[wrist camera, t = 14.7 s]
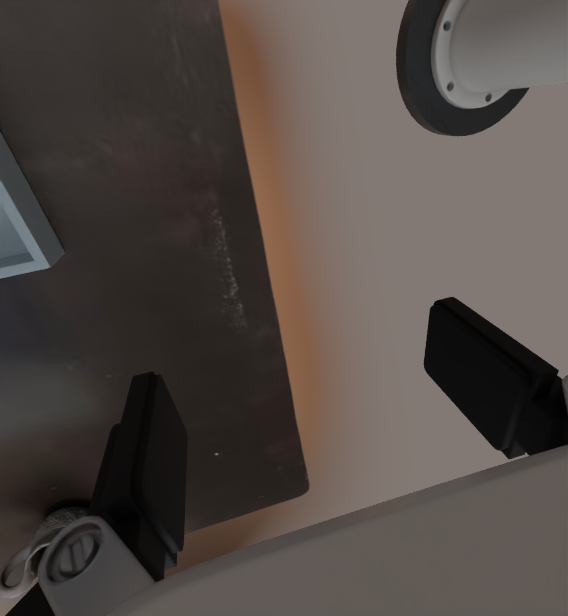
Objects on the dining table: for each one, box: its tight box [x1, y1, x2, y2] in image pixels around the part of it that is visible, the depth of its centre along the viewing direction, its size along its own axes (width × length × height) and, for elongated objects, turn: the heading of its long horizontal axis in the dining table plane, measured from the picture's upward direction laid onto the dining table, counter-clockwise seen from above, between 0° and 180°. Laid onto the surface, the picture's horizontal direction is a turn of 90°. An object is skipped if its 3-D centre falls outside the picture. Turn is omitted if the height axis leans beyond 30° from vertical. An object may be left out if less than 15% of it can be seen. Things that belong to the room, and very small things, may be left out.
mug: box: [0, 507, 89, 598], centre depth 51 cm, size 10×12×10 cm
